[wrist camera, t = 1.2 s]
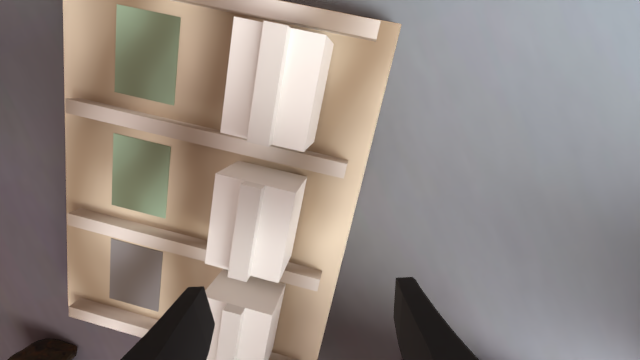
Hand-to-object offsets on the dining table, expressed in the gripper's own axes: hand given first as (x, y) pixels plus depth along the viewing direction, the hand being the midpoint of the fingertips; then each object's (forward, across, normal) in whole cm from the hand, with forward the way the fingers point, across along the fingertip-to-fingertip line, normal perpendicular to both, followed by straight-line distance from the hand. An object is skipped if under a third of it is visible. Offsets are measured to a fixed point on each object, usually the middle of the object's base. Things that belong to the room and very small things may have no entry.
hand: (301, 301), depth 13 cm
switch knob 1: (+9, +1, -6) cm, 11 cm away
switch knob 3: (+6, +4, +7) cm, 10 cm away
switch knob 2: (+7, +2, +1) cm, 8 cm away
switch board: (+10, +6, 0) cm, 12 cm away
